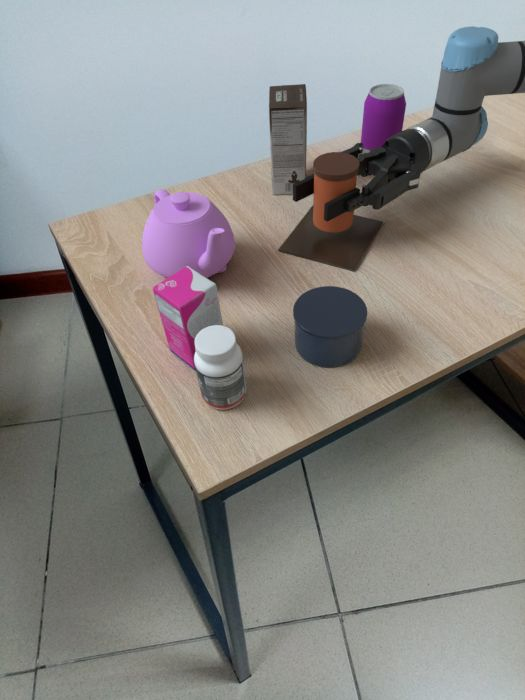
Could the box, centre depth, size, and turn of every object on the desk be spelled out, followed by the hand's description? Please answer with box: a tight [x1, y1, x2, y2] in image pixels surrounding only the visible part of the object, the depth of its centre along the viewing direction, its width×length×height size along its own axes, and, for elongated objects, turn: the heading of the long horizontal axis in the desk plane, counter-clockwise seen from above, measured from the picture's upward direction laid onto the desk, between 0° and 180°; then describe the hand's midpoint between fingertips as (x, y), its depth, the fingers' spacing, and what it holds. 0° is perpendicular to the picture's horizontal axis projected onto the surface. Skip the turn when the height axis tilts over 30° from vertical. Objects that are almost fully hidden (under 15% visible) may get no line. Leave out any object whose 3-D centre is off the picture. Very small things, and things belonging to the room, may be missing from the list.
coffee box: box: [268, 83, 308, 196], centre depth 94 cm, size 9×6×16 cm
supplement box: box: [152, 266, 224, 372], centre depth 68 cm, size 6×6×12 cm
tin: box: [292, 285, 368, 369], centre depth 69 cm, size 9×9×6 cm
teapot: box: [141, 189, 236, 279], centre depth 79 cm, size 20×14×12 cm
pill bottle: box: [194, 325, 247, 411], centre depth 63 cm, size 6×6×10 cm
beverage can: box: [360, 83, 407, 150], centre depth 102 cm, size 8×8×12 cm
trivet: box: [277, 205, 384, 272], centre depth 88 cm, size 13×14×1 cm
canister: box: [312, 151, 360, 232], centre depth 82 cm, size 7×7×10 cm
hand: (310, 202), depth 79 cm, fingers closed on canister, 6 cm apart
